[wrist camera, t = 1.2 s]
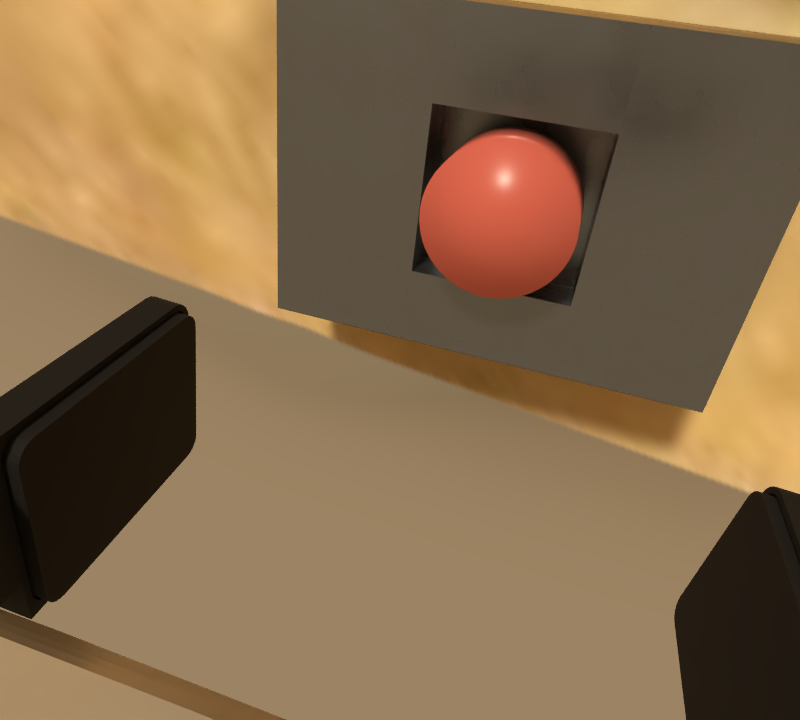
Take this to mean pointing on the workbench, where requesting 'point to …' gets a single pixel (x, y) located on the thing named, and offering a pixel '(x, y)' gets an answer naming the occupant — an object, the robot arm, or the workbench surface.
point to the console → (585, 143)
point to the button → (503, 213)
